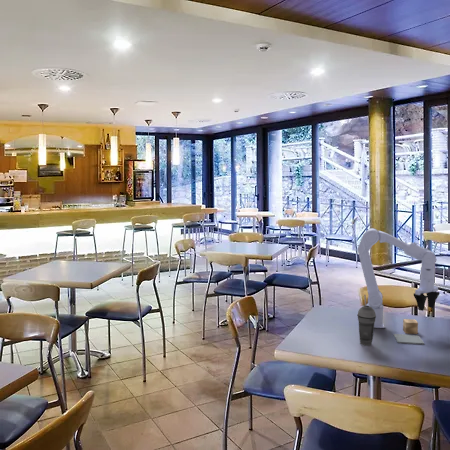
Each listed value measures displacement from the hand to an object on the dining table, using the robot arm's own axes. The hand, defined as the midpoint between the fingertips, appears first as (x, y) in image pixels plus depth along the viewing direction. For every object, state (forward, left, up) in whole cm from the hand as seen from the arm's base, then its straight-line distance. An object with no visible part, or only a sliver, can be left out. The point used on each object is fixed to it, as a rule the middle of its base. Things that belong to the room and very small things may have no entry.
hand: (425, 308), depth 206 cm
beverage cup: (-28, -23, -10) cm, 37 cm away
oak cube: (-7, -4, -10) cm, 13 cm away
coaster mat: (-10, -15, -10) cm, 20 cm away
